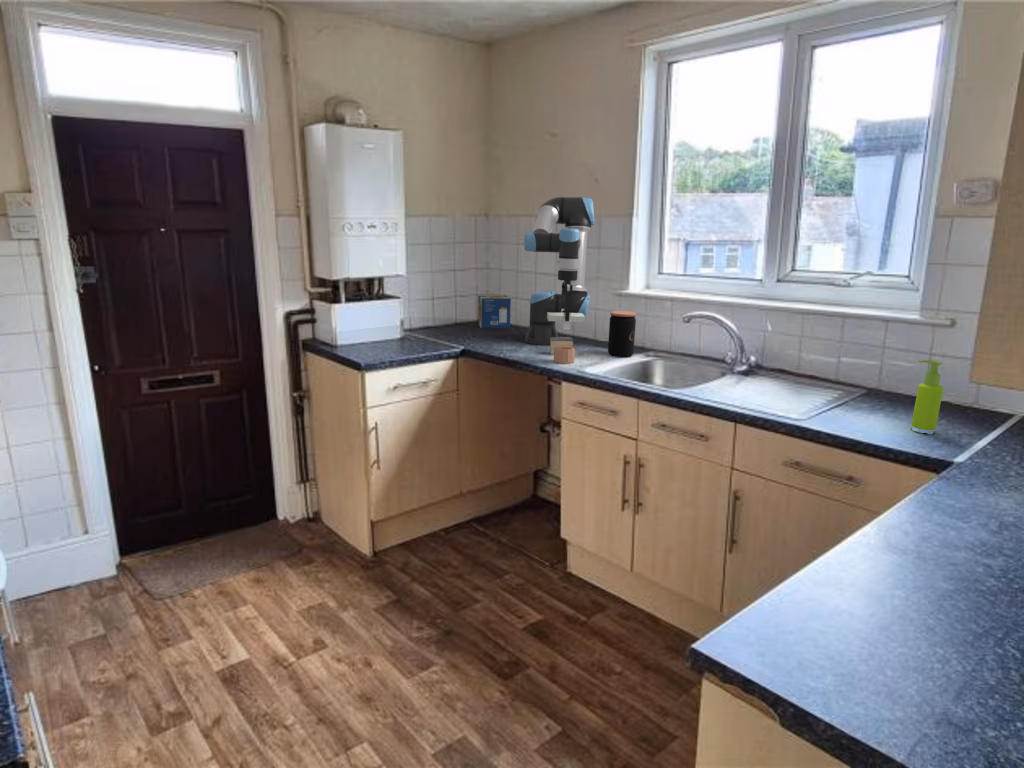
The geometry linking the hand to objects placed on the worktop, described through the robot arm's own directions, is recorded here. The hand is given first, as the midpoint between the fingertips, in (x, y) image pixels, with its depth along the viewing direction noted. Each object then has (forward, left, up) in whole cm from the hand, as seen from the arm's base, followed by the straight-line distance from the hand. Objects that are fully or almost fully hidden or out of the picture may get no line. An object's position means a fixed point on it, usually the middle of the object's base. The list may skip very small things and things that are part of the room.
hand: (565, 327), depth 262 cm
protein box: (-83, -30, -14) cm, 90 cm away
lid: (0, 0, +3) cm, 3 cm away
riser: (-16, 0, -14) cm, 21 cm away
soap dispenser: (+81, +94, -14) cm, 125 cm away
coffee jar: (-16, +25, -14) cm, 33 cm away
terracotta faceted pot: (0, 0, -14) cm, 14 cm away
